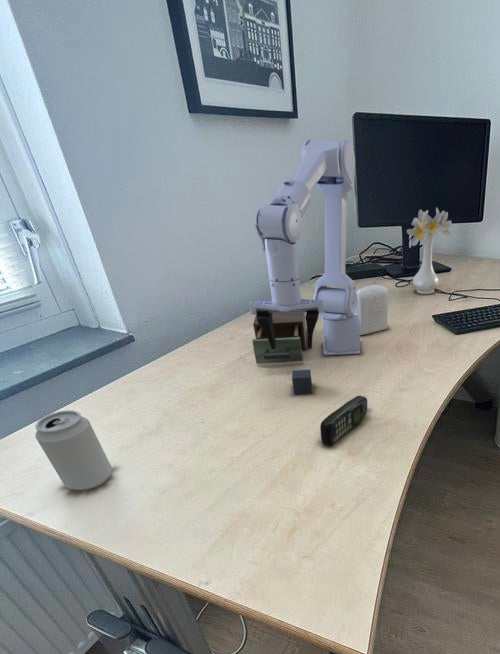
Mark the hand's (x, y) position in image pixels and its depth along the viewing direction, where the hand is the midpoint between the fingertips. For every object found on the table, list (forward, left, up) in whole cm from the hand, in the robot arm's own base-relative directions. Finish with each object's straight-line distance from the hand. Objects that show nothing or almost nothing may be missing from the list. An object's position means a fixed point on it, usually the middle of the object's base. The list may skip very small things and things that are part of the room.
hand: (292, 347), depth 92 cm
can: (+35, +28, -10) cm, 46 cm away
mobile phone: (-10, +17, -10) cm, 22 cm away
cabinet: (+5, -29, -10) cm, 32 cm away
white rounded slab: (-20, -34, -10) cm, 41 cm away
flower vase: (-43, -68, -10) cm, 81 cm away
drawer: (+5, -18, -9) cm, 20 cm away
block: (-1, 0, -10) cm, 10 cm away
